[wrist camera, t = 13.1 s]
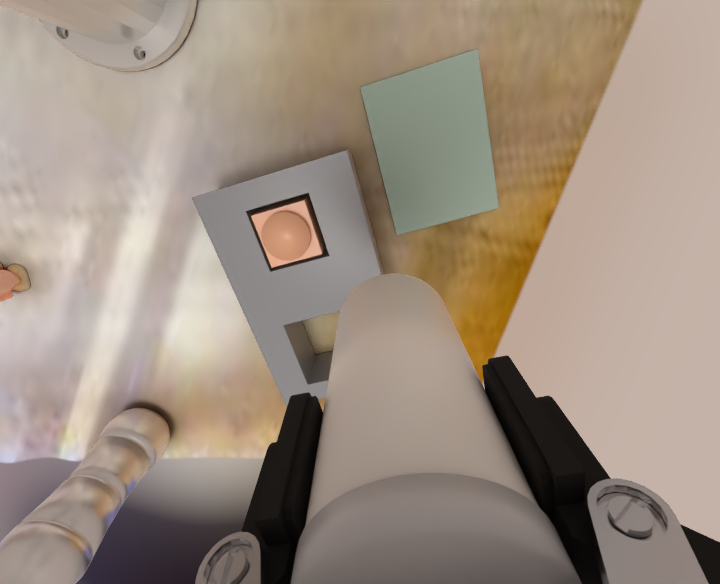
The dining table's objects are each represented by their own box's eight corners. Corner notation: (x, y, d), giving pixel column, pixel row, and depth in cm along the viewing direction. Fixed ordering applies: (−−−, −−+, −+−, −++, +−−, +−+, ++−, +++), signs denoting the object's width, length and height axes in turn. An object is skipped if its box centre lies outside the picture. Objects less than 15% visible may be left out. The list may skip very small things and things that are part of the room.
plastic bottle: (150, 391, 40) (-42, 607, 21) (189, 432, 42) (46, 660, 23) (108, 412, 41) (-106, 633, 23) (148, 451, 43) (-17, 681, 25)
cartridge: (322, 285, 16) (240, 557, 5) (440, 259, 15) (593, 510, 5) (351, 379, 18) (330, 707, 7) (456, 360, 17) (587, 686, 7)
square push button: (268, 205, 31) (248, 217, 26) (314, 191, 30) (302, 201, 25) (285, 249, 32) (269, 270, 27) (329, 237, 32) (321, 256, 27)
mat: (360, 88, 28) (360, 87, 27) (476, 50, 26) (477, 48, 26) (396, 234, 32) (396, 235, 32) (497, 207, 31) (498, 207, 30)
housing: (218, 189, 31) (191, 197, 26) (350, 148, 29) (346, 150, 25) (296, 374, 38) (286, 406, 34) (405, 349, 37) (410, 379, 32)
